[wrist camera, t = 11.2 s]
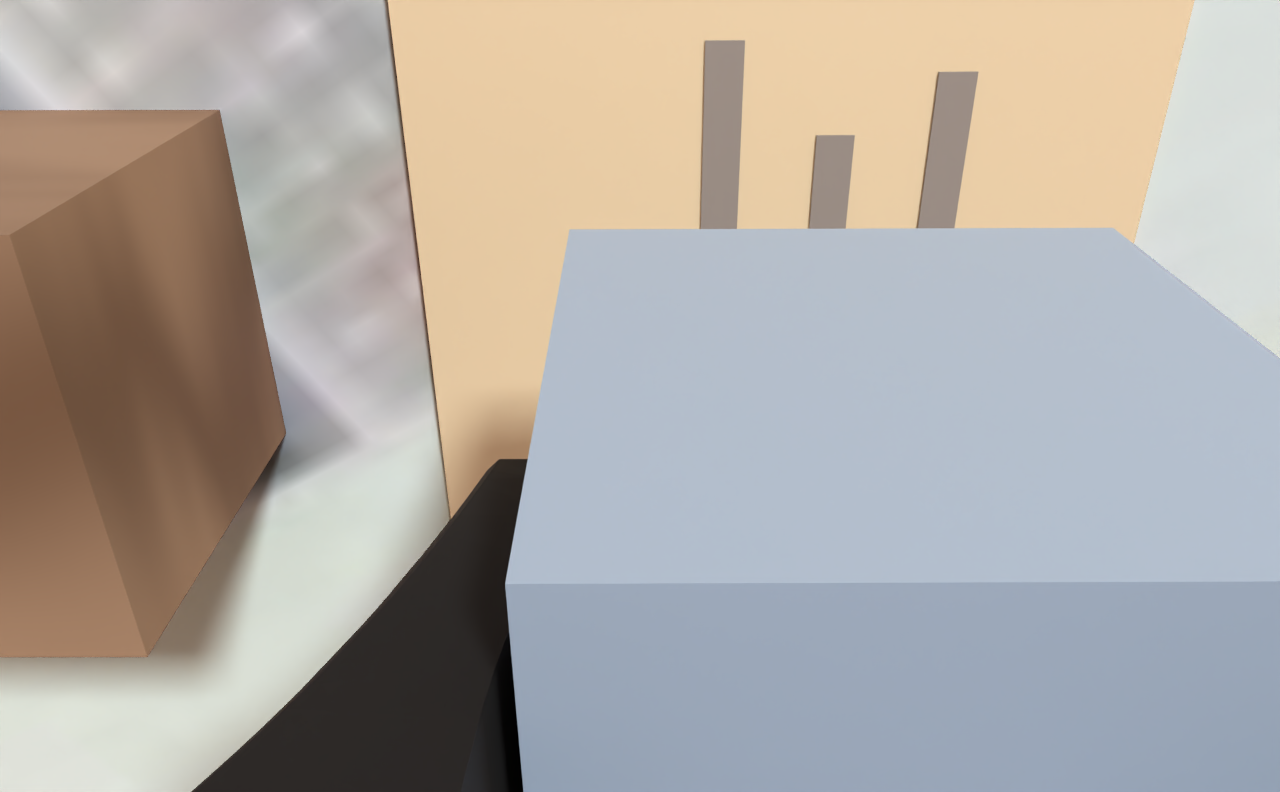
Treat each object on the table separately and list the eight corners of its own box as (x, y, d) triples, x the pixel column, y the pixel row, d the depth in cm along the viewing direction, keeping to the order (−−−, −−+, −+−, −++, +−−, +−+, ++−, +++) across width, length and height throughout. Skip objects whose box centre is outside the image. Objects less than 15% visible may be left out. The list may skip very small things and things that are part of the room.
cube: (1014, 638, 11) (1247, 1124, 7) (585, 640, 11) (552, 1128, 7) (1112, 227, 9) (1563, 580, 5) (569, 230, 9) (504, 584, 5)
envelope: (1049, 563, 17) (1053, 571, 16) (459, 566, 17) (456, 574, 16) (1321, -543, 10) (1333, -549, 10) (326, -534, 10) (320, -540, 10)
